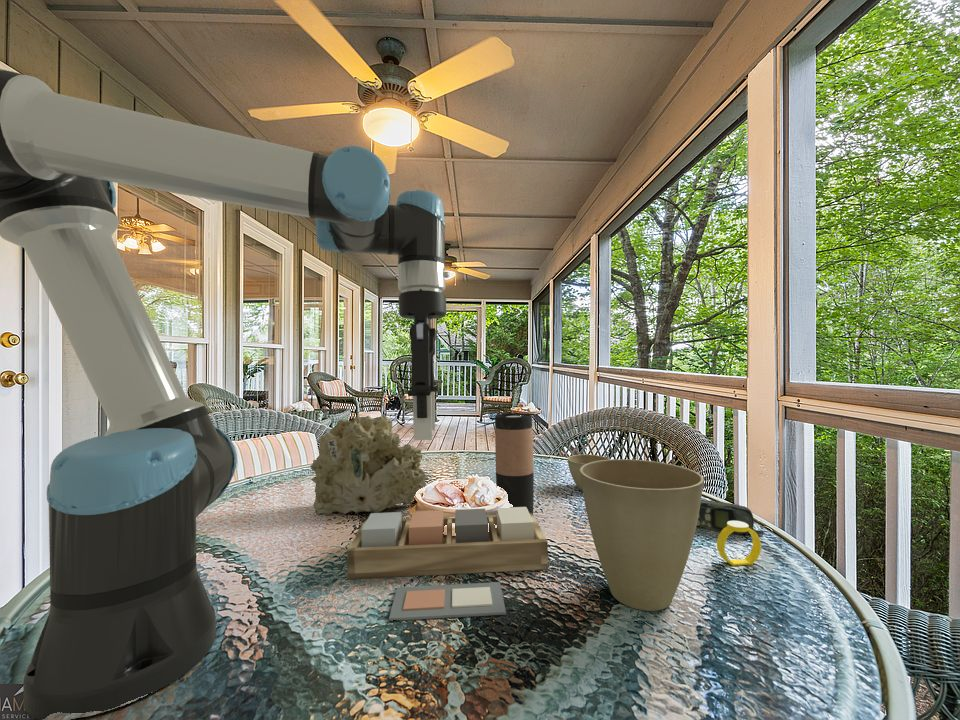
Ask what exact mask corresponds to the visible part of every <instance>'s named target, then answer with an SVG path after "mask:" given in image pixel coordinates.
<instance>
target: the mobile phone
mask: <svg viewBox="0 0 960 720" xmlns="http://www.w3.org/2000/svg"><path fill="white" fill-rule="evenodd" d="M754 520H755V519H754V515H753V512H752V510H751V509H749V508H748V507H746V506H743V505H740V504H734V503H730V502H729V503H728V502H723V501H715V500H707V499H701V503H700V510H699V516H698V521H697V526H696V529H697V528H698V529H702V530H703V529H704V530H710V531H714V532H718V533H720V532H721V531H722V530H723V529H724V528H725V527H727V522H728V521H741V522H745V523H747V524H748V525H749V528H750V529H752V530H753V531H755V532H756V534H757V535H758V536H763V535H764V534H765V533H764V531H763V530H758V529H754V526H755V525H754V524H755V523H754V522H755V521H754ZM732 534H733V535H737V534H738V535H740V534H741V535H742V534H743V535H745V534H746V535H747V534H750V533H749V531H747V532H736V531H734V532H732V533H731V534H730V535H732Z"/></svg>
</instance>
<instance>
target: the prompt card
mask: <svg viewBox="0 0 960 720" xmlns="http://www.w3.org/2000/svg"><path fill="white" fill-rule="evenodd" d="M506 610H507V609H506V607H505V601H504V596H503V591H502V586H501V582H500V581H495V582H475V583H457V584H436V585H417V586H416V585H415V586H398V587H396V590H395V594H394V598H393V601H392V606H391V610H390V612H389V617H388V622H394V621H393V620H397V621H398V620H399V621H415V620H430V619H431V620H433V619H447V618H448V619H449V618H467V617H468V618H469V617H484V616H501V615H503V616H504V615H505V616H506V615H507V611H506ZM397 621H396V622H397Z"/></svg>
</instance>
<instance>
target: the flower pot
mask: <svg viewBox="0 0 960 720" xmlns="http://www.w3.org/2000/svg"><path fill="white" fill-rule="evenodd" d="M566 460H567V465H568V469H569V472H570V475H571V478H572V480H573V481H574V483H575V486H576V487H577V488H578V489H579V490H580V491H583V488H582V482H581V475H580V468H581V467H582V466H583V465H585V464H588V463H591V462H595V461H600V460H611V459H610V458H608V457H606V456H602V455H597V454H574V455H573V454H572V455H570V456H568V457H567V459H566Z"/></svg>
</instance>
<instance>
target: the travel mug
mask: <svg viewBox="0 0 960 720" xmlns="http://www.w3.org/2000/svg"><path fill="white" fill-rule="evenodd" d="M494 433H495V434H494V437H495V438H494V440H495V441H494V444H495V483H496V484H495V486H496V485H497V486H499V487H501V488H503V489H504V490H505V491H506V492H507V494H508V501H509V503H510V504H512V505H513V507H527V509H528V511H529V513H533V514H534V482H535V481H534V480H535V479H534V477H535V475H534V472H535V470H534V466H535V465H534V441H533V439H534V438H533V415H532V414H530V413H525V414H524V415H518V414H517V413H516V412H515V413H514V412H504V413H497V414H495V415H494Z"/></svg>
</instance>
